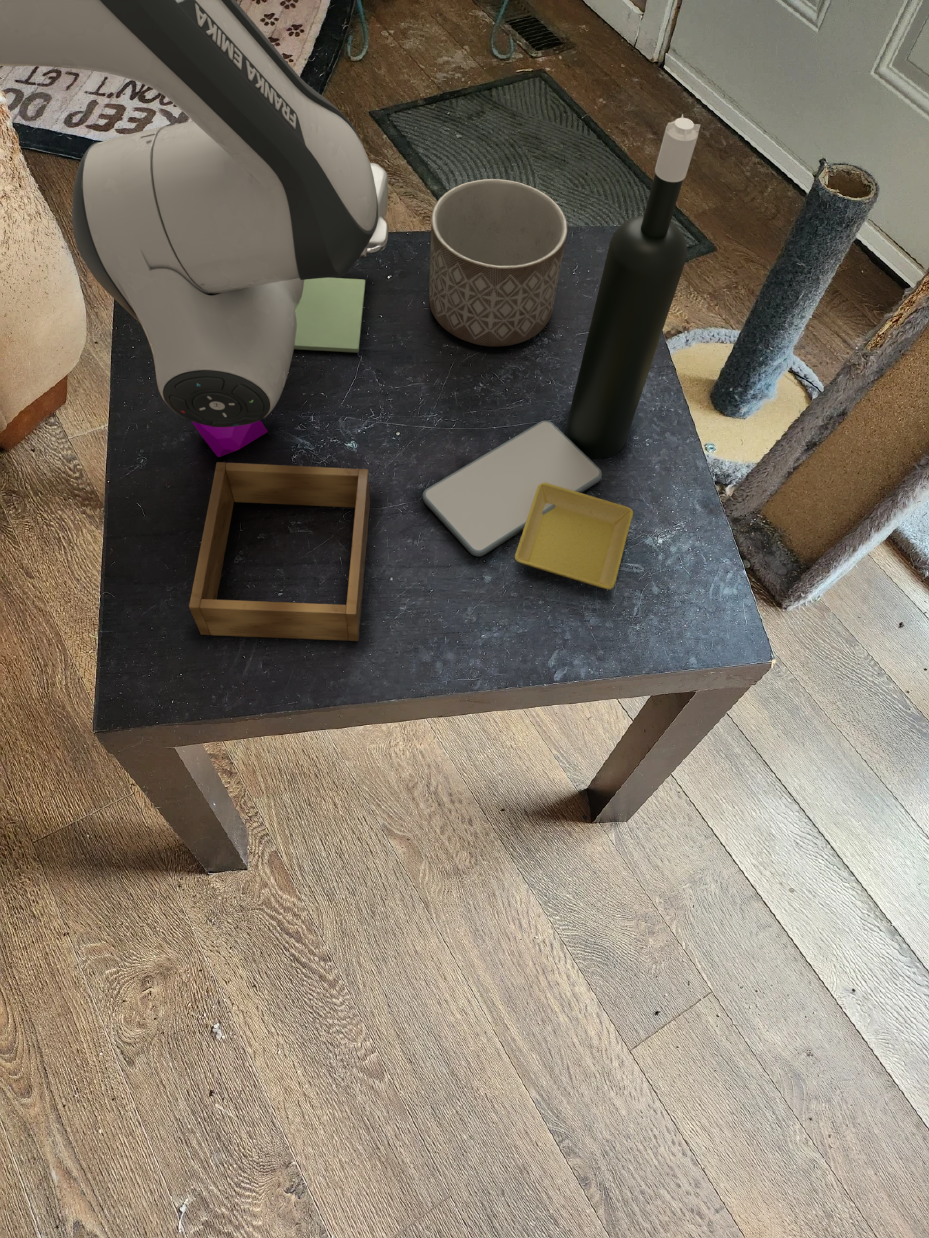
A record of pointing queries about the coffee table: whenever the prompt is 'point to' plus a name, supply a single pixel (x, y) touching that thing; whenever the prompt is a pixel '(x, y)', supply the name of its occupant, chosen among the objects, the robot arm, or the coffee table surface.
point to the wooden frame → (293, 490)
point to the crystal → (230, 436)
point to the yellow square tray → (575, 536)
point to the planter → (495, 261)
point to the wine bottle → (632, 306)
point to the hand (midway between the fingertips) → (271, 140)
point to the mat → (330, 315)
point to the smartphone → (508, 486)
